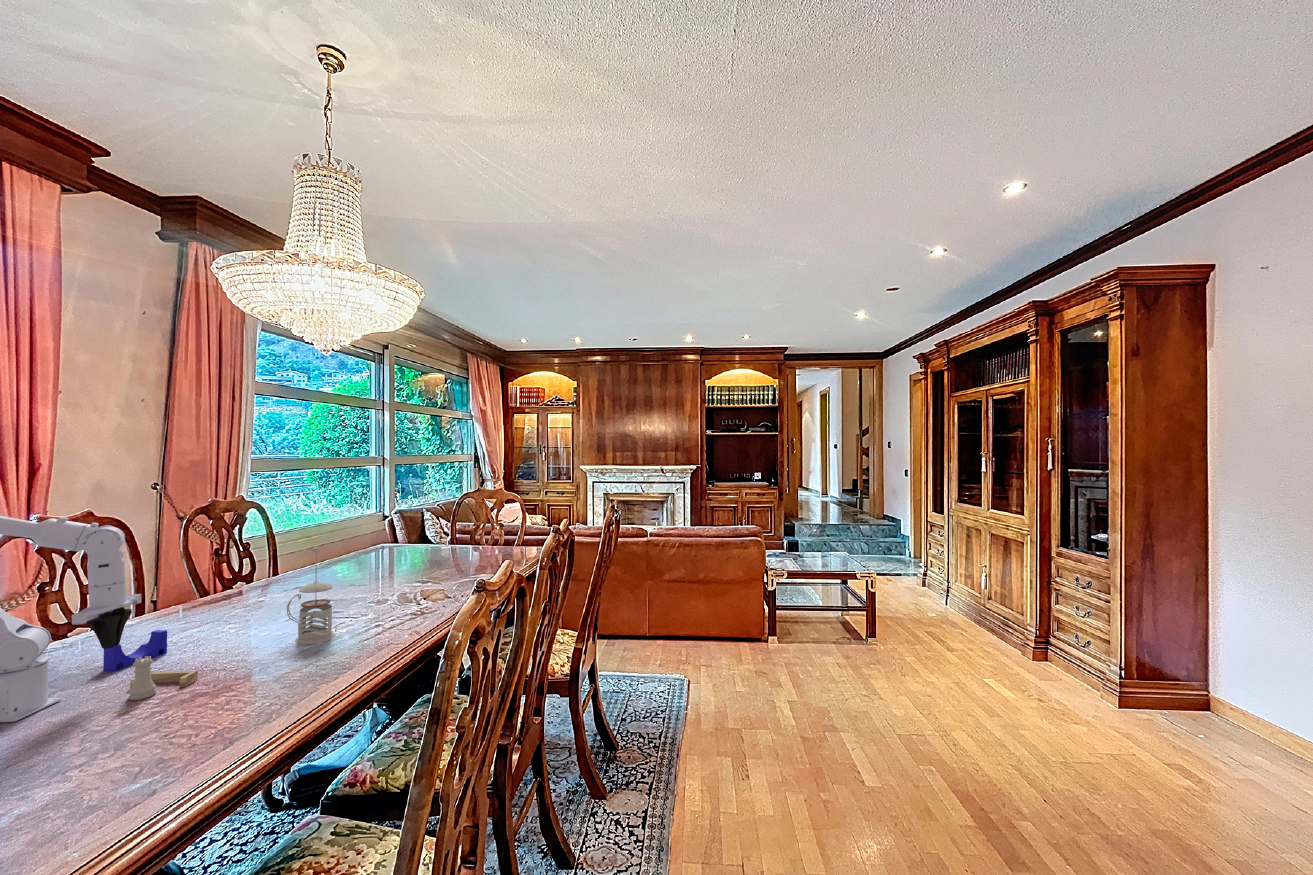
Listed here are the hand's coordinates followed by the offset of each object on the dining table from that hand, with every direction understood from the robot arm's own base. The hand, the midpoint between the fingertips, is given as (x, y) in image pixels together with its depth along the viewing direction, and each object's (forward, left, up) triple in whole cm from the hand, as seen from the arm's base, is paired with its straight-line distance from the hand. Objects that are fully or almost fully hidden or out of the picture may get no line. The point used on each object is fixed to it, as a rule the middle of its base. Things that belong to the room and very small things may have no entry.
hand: (110, 646), depth 120 cm
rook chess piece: (-2, -8, -10) cm, 13 cm away
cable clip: (+19, +10, -10) cm, 24 cm away
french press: (+32, -25, -10) cm, 42 cm away
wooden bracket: (+4, -8, -10) cm, 13 cm away
